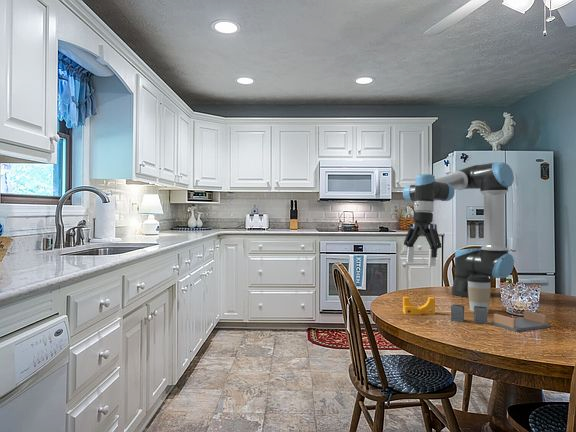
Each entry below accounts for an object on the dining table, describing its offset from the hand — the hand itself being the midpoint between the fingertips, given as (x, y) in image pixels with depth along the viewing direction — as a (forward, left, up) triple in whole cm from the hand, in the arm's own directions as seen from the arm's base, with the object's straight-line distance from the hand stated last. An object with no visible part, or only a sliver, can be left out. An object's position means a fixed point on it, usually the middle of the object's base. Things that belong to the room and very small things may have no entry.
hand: (420, 264), depth 158 cm
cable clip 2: (-11, +19, -20) cm, 30 cm away
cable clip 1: (-5, +14, -20) cm, 25 cm away
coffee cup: (-25, +5, -20) cm, 33 cm away
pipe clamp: (+1, +1, -20) cm, 20 cm away
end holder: (-21, +27, -20) cm, 40 cm away
